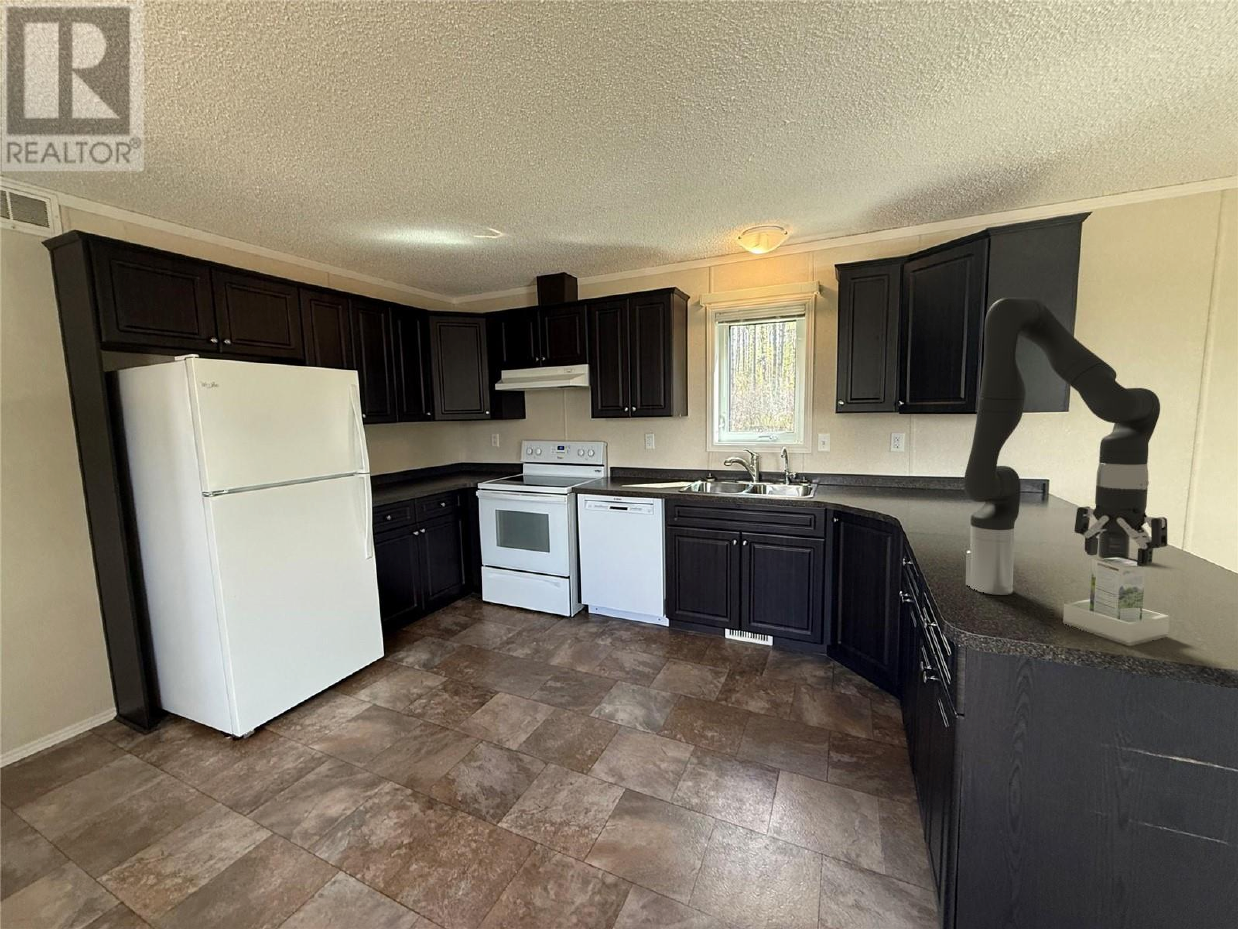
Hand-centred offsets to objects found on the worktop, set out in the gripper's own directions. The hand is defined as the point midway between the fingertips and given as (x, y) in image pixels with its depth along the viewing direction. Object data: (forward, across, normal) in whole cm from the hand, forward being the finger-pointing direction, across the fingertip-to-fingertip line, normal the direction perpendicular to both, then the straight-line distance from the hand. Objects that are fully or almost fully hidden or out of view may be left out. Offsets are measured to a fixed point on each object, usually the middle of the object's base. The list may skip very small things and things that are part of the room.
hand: (1116, 560), depth 103 cm
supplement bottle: (+16, -33, +60) cm, 70 cm away
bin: (+15, 0, 0) cm, 15 cm away
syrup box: (+15, 0, 0) cm, 15 cm away
